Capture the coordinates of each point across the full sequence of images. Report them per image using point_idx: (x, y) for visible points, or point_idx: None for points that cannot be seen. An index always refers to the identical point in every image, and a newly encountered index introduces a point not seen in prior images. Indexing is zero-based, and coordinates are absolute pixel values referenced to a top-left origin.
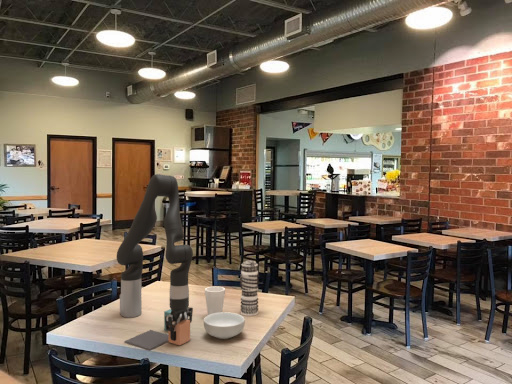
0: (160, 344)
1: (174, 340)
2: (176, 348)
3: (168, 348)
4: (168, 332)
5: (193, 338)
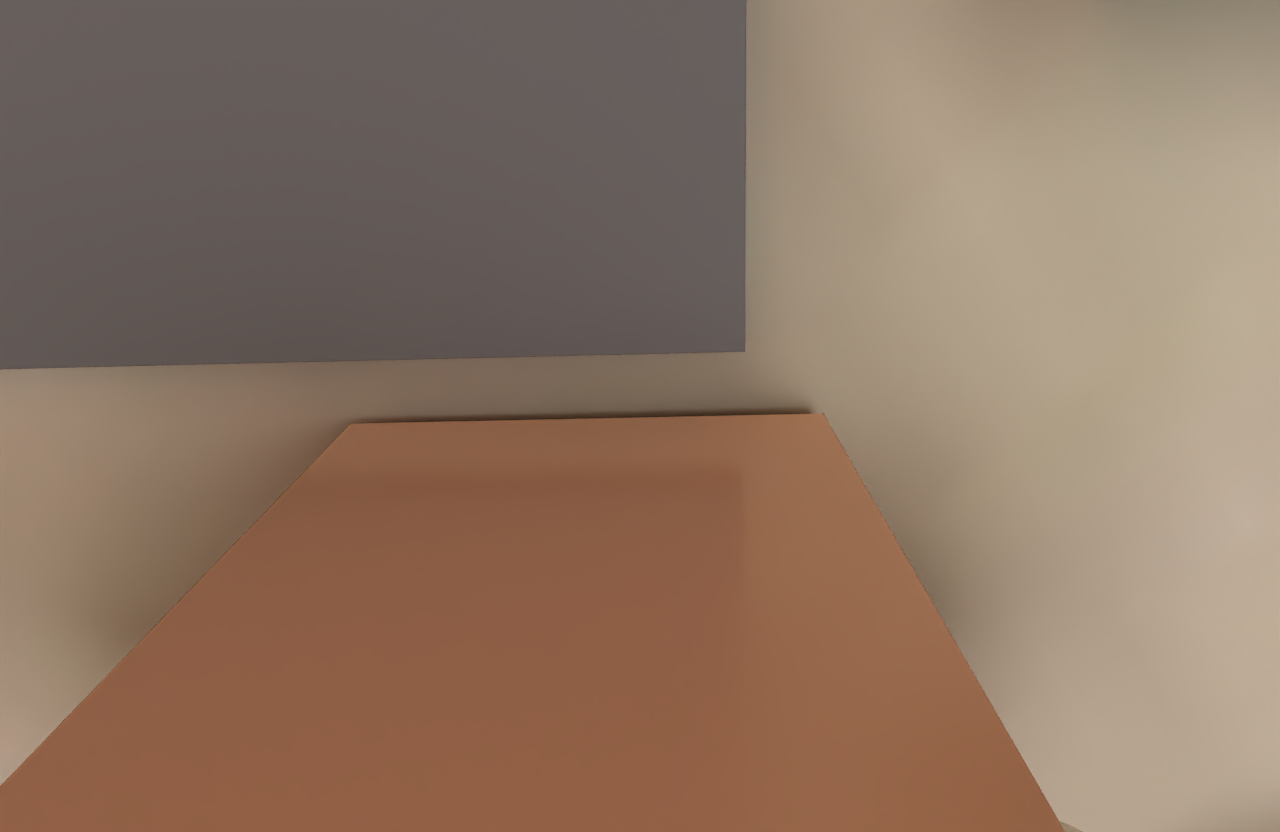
0: (64, 365)
1: None
2: None
3: None
4: (228, 554)
5: None
